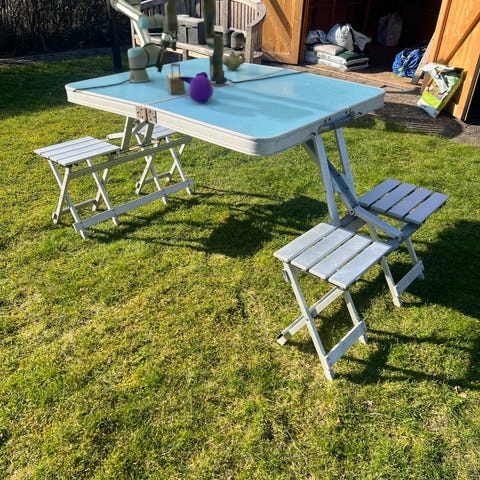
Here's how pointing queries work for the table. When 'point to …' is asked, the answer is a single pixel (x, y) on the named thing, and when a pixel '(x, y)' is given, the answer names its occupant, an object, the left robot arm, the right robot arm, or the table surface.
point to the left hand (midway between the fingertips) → (157, 70)
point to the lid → (175, 74)
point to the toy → (199, 87)
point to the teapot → (233, 61)
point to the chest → (175, 86)
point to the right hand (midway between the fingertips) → (173, 50)
